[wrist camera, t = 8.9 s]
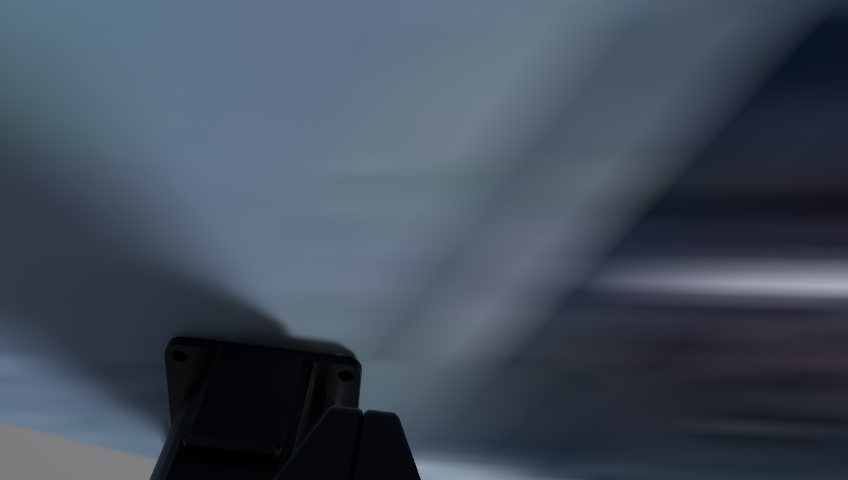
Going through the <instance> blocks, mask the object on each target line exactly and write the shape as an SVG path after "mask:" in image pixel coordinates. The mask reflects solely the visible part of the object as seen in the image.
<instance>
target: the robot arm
mask: <svg viewBox="0 0 848 480" xmlns="http://www.w3.org/2000/svg"><path fill="white" fill-rule="evenodd" d="M178 350H180V351H183V352H184V353H186V354H183V353H180V352H179V351H178ZM165 363H166V373H167V383H168V394H169V404H170V414H171V424H172V427H171V430H170V432H169V434H168V437H167V439H166V442H165V444H164V446H163V449H162V451H161V454H160V456H159V458H158V461H157V463H156V466H155V468H154V470H153V473H152V475H151V478H150V480H421V479H420V476H419V473H418V470H417V467H416V465H415V462H414V459H413V456H412V453H411V450H410V448H409V445H408V442H407V439H406V436H405V433H404V431H403V428H402V425H401V422H400V419H399V417H398V416H397V415H396V414H395V413H392V412H384V411H375V410H367V411H366V412H365V413H364V415H363V412H362V411H361V410H360V409H358V407H359V396H360V385H361V375H362V367H361V364H360V363H359V361H357V360H356V359H354V358H351V357H346V356H338V355H330V354H321V353H313V352H305V351H296V350H288V349H280V348H272V347H263V346H255V345H247V344H238V343H230V342H222V341H213V340H205V339H197V338H188V337H176V338H173V339H172V340H171V341H170V342H169V344H168V346H167V348H166V350H165ZM344 370H346V371H350V372H351V373H344V372H342V371H344Z"/></svg>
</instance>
